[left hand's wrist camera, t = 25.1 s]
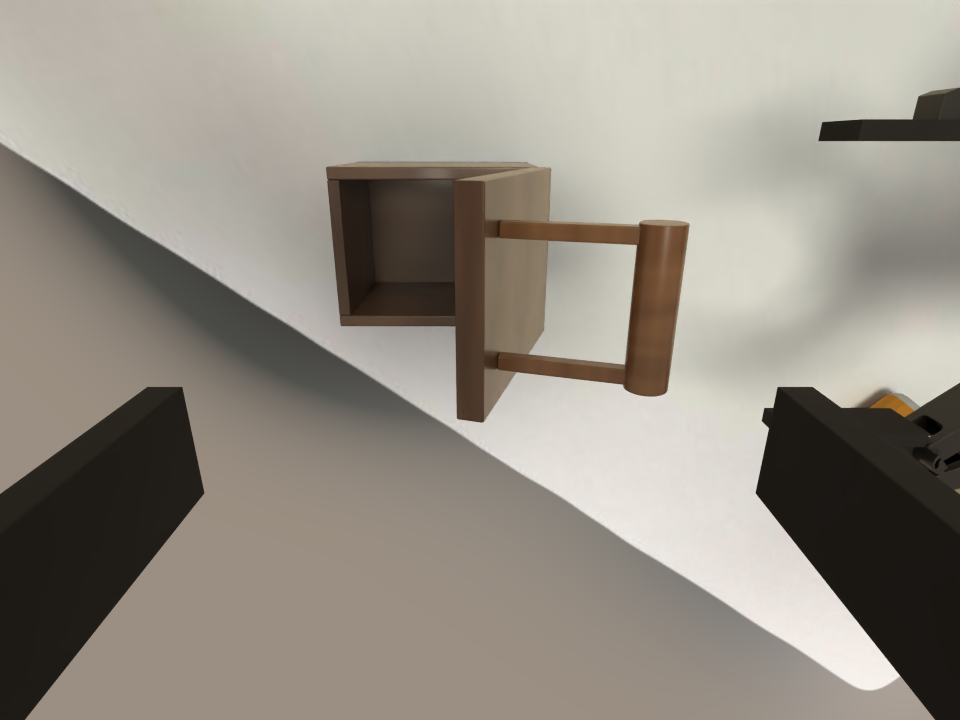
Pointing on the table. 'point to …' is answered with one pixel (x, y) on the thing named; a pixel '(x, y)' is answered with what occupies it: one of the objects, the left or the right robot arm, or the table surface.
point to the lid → (522, 289)
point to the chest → (398, 239)
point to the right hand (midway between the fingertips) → (803, 293)
